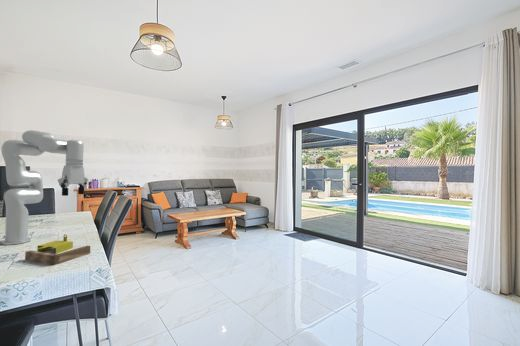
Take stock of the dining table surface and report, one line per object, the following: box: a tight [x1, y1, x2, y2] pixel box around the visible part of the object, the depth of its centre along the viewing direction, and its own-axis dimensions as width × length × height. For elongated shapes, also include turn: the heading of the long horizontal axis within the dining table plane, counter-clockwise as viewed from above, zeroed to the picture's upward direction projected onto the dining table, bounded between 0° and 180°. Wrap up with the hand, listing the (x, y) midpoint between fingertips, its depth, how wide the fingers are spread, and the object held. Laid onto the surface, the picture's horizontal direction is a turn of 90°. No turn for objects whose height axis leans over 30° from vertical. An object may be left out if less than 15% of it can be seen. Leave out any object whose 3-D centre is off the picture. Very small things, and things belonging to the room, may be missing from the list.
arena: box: [24, 245, 91, 266], centre depth 124 cm, size 19×18×4 cm
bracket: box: [36, 234, 74, 254], centre depth 132 cm, size 16×8×15 cm
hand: (73, 194), depth 134 cm, fingers open, 9 cm apart
